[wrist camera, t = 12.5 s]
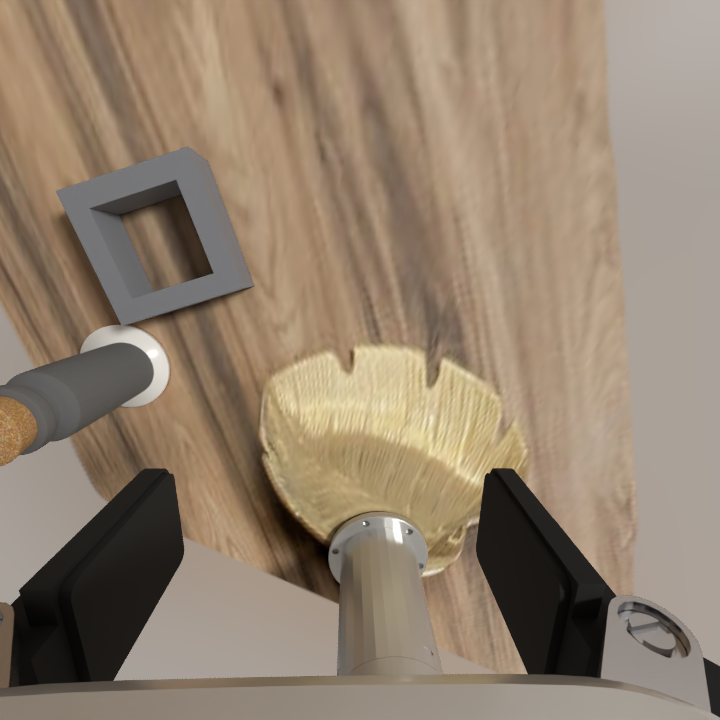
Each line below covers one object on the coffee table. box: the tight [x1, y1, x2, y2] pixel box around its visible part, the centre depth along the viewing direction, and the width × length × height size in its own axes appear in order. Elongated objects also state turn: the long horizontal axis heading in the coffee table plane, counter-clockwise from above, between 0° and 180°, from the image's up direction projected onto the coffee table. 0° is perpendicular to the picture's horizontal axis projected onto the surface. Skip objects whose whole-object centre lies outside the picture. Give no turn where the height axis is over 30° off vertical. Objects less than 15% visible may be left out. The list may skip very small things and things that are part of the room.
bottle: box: [0, 342, 154, 466], centre depth 29 cm, size 6×6×15 cm
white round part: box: [80, 324, 171, 407], centre depth 37 cm, size 9×9×1 cm
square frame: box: [56, 147, 254, 326], centre depth 32 cm, size 12×12×4 cm
